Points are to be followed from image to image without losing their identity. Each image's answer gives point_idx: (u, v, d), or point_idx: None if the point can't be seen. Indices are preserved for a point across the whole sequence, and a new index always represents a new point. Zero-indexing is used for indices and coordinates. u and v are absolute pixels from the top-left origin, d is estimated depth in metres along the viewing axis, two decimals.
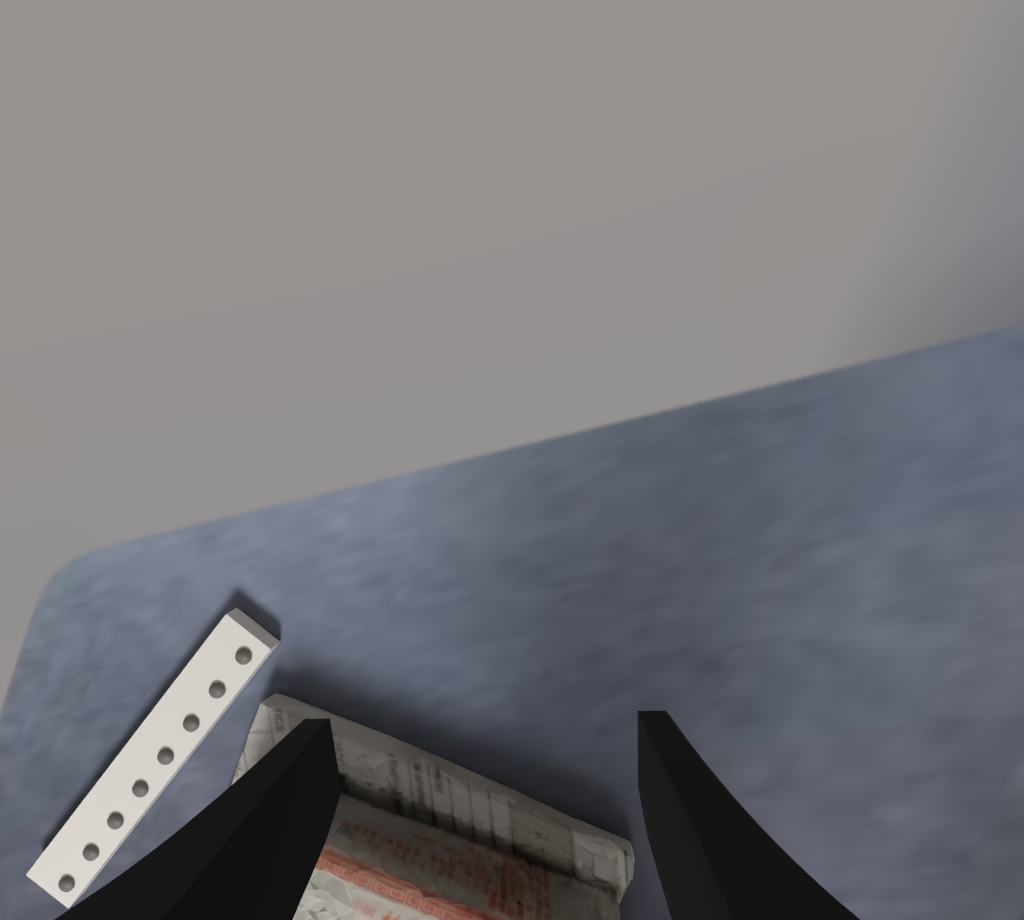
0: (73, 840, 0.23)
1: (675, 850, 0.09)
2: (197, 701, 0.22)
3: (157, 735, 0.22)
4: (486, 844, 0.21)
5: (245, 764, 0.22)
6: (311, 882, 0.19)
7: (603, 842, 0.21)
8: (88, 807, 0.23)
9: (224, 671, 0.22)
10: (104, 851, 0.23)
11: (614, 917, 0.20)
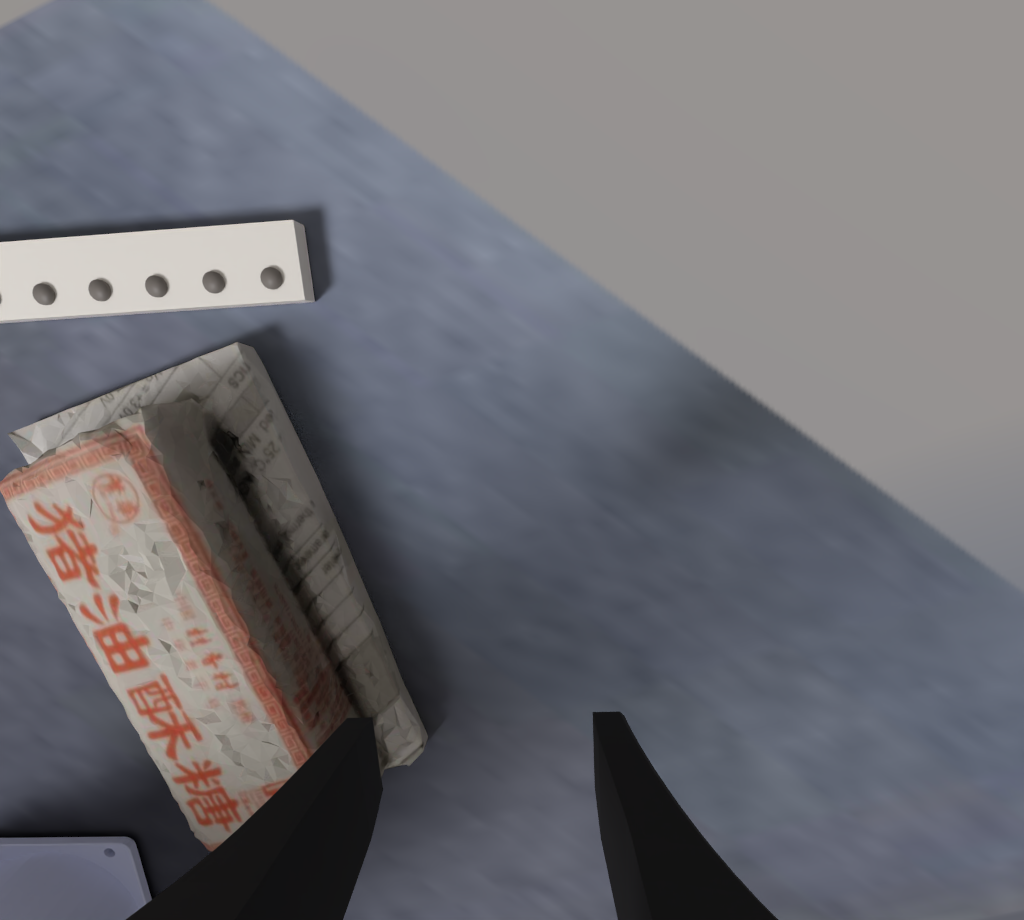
0: None
1: (618, 850, 0.09)
2: (182, 272, 0.17)
3: (109, 262, 0.17)
4: (323, 644, 0.19)
5: (166, 379, 0.17)
6: (154, 543, 0.15)
7: (414, 723, 0.20)
8: None
9: (237, 272, 0.17)
10: None
11: None
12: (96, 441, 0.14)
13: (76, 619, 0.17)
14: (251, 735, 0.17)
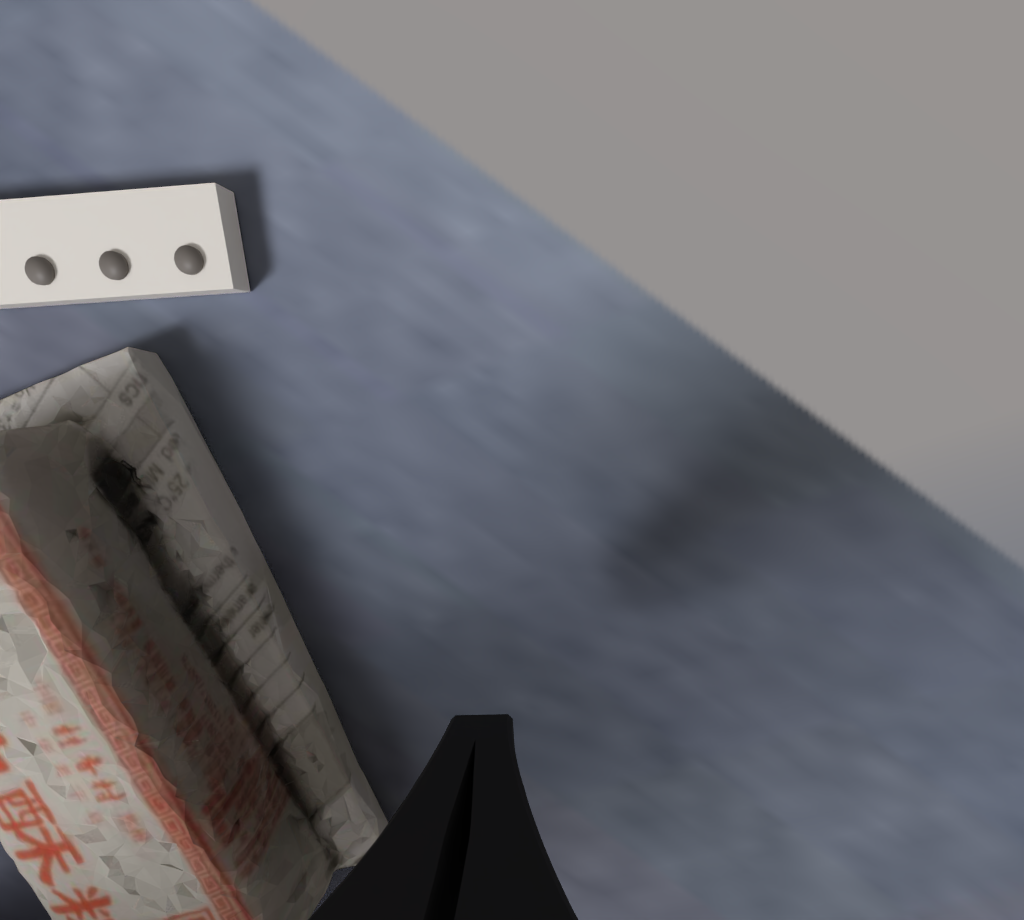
0: None
1: None
2: (73, 252, 0.13)
3: None
4: (251, 723, 0.15)
5: (41, 395, 0.14)
6: (1, 617, 0.11)
7: (369, 816, 0.16)
8: None
9: (145, 252, 0.13)
10: None
11: (316, 895, 0.15)
12: None
13: None
14: (146, 856, 0.13)
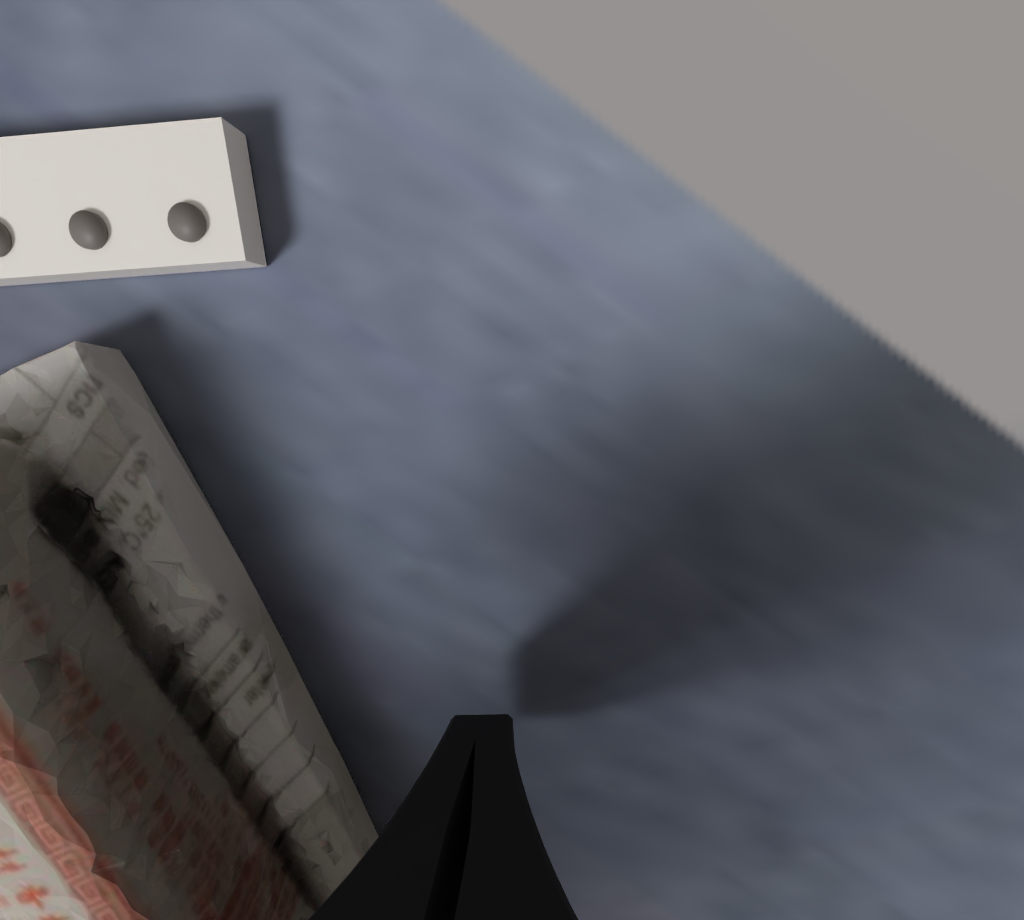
0: None
1: None
2: (35, 213, 0.10)
3: None
4: (250, 811, 0.12)
5: None
6: None
7: None
8: None
9: (129, 213, 0.10)
10: None
11: None
12: None
13: None
14: None
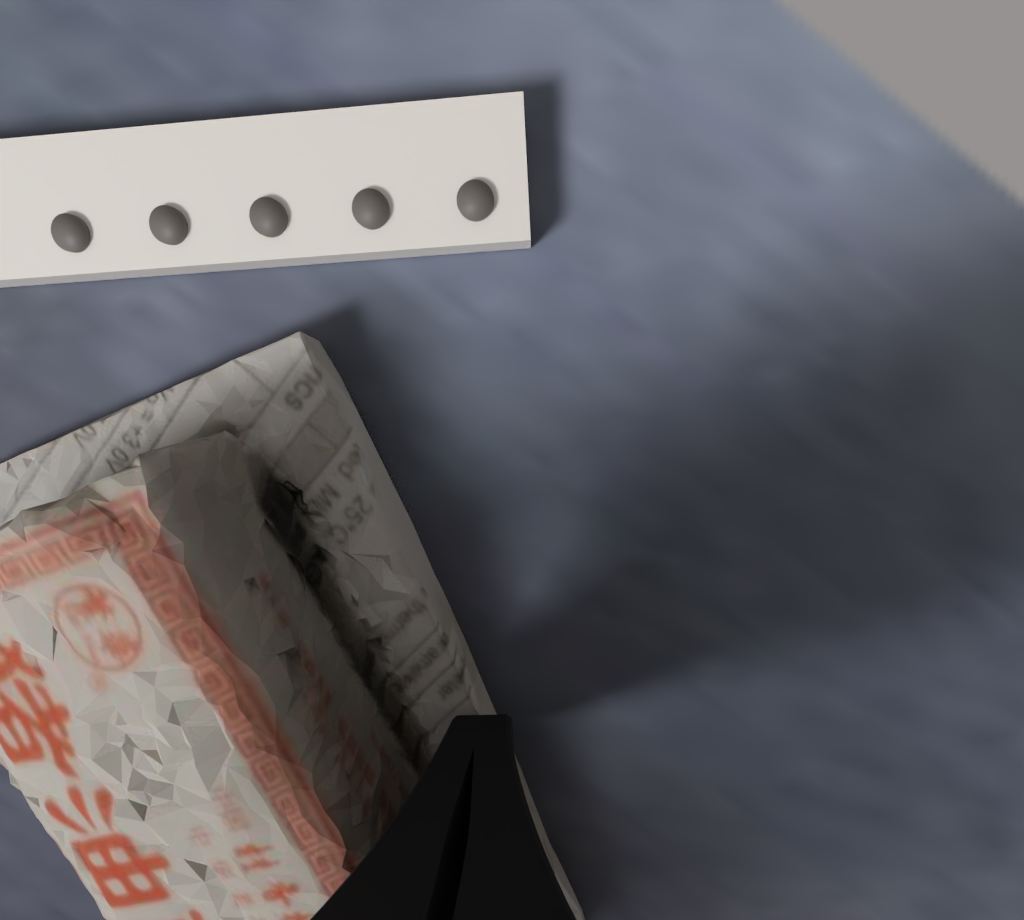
0: None
1: None
2: (316, 191, 0.09)
3: (186, 174, 0.09)
4: None
5: (181, 400, 0.10)
6: (173, 705, 0.08)
7: (574, 912, 0.13)
8: None
9: (414, 191, 0.09)
10: None
11: None
12: (55, 526, 0.07)
13: (42, 819, 0.10)
14: None
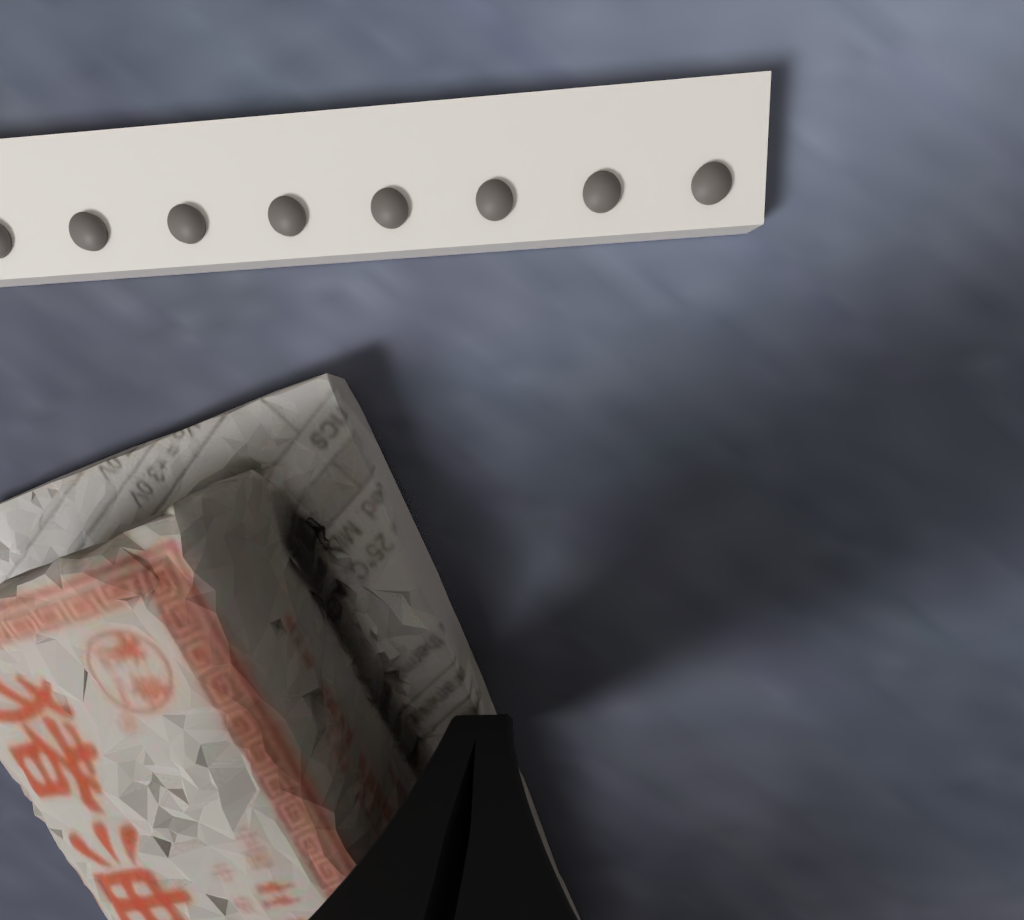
0: (72, 177, 0.10)
1: None
2: (545, 173, 0.09)
3: (411, 156, 0.09)
4: None
5: (207, 436, 0.11)
6: (201, 747, 0.08)
7: None
8: (155, 149, 0.09)
9: (647, 173, 0.09)
10: (115, 254, 0.10)
11: None
12: (91, 575, 0.08)
13: (65, 850, 0.10)
14: None
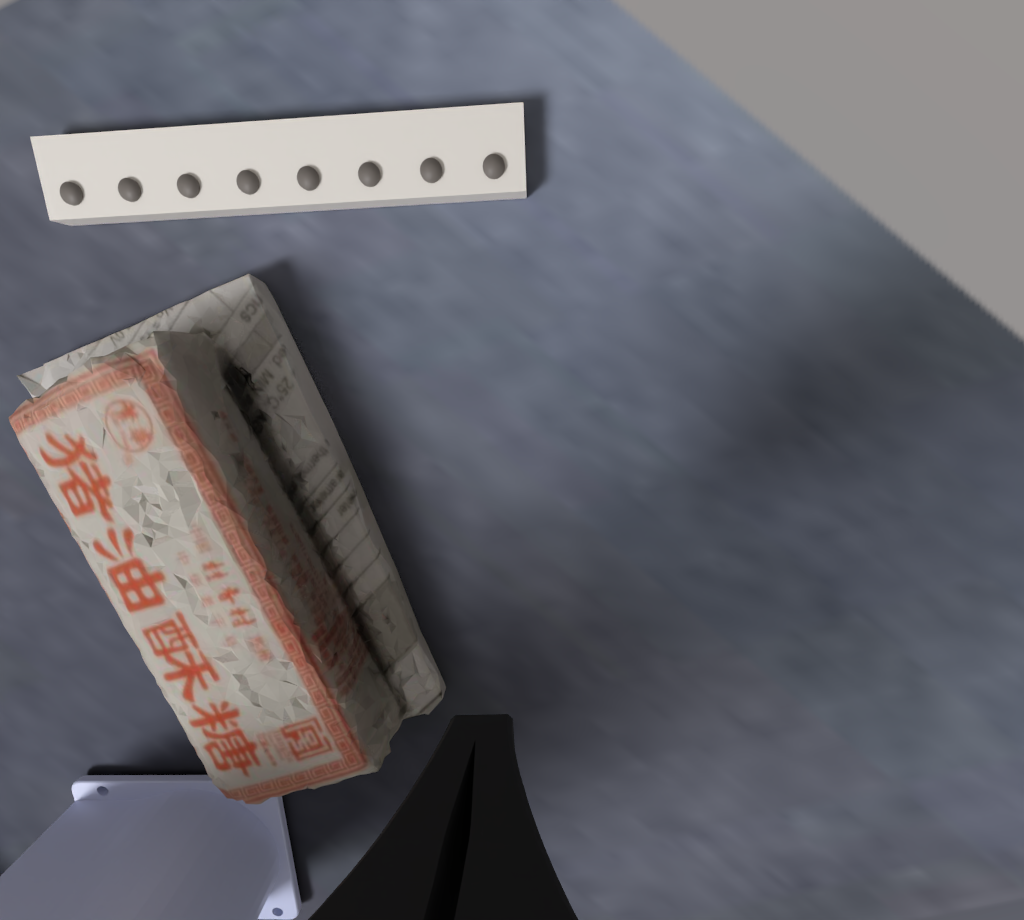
0: (120, 157, 0.16)
1: None
2: (398, 159, 0.16)
3: (320, 147, 0.16)
4: (339, 588, 0.19)
5: (177, 315, 0.17)
6: (168, 472, 0.15)
7: (432, 671, 0.20)
8: (170, 141, 0.16)
9: (457, 160, 0.16)
10: (145, 204, 0.16)
11: (392, 728, 0.19)
12: (108, 365, 0.14)
13: (90, 557, 0.16)
14: (269, 674, 0.17)
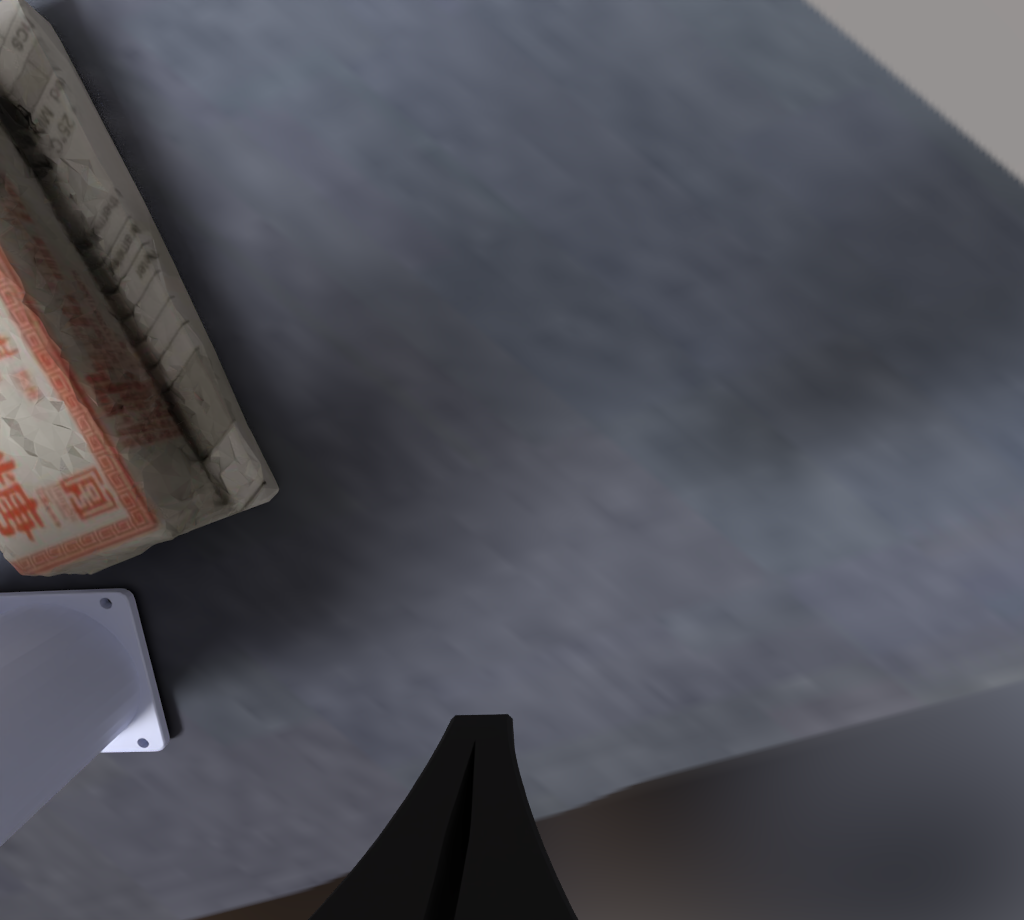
0: None
1: None
2: None
3: None
4: (143, 358, 0.18)
5: None
6: None
7: (253, 458, 0.19)
8: None
9: None
10: None
11: (203, 509, 0.18)
12: None
13: None
14: (41, 417, 0.16)
